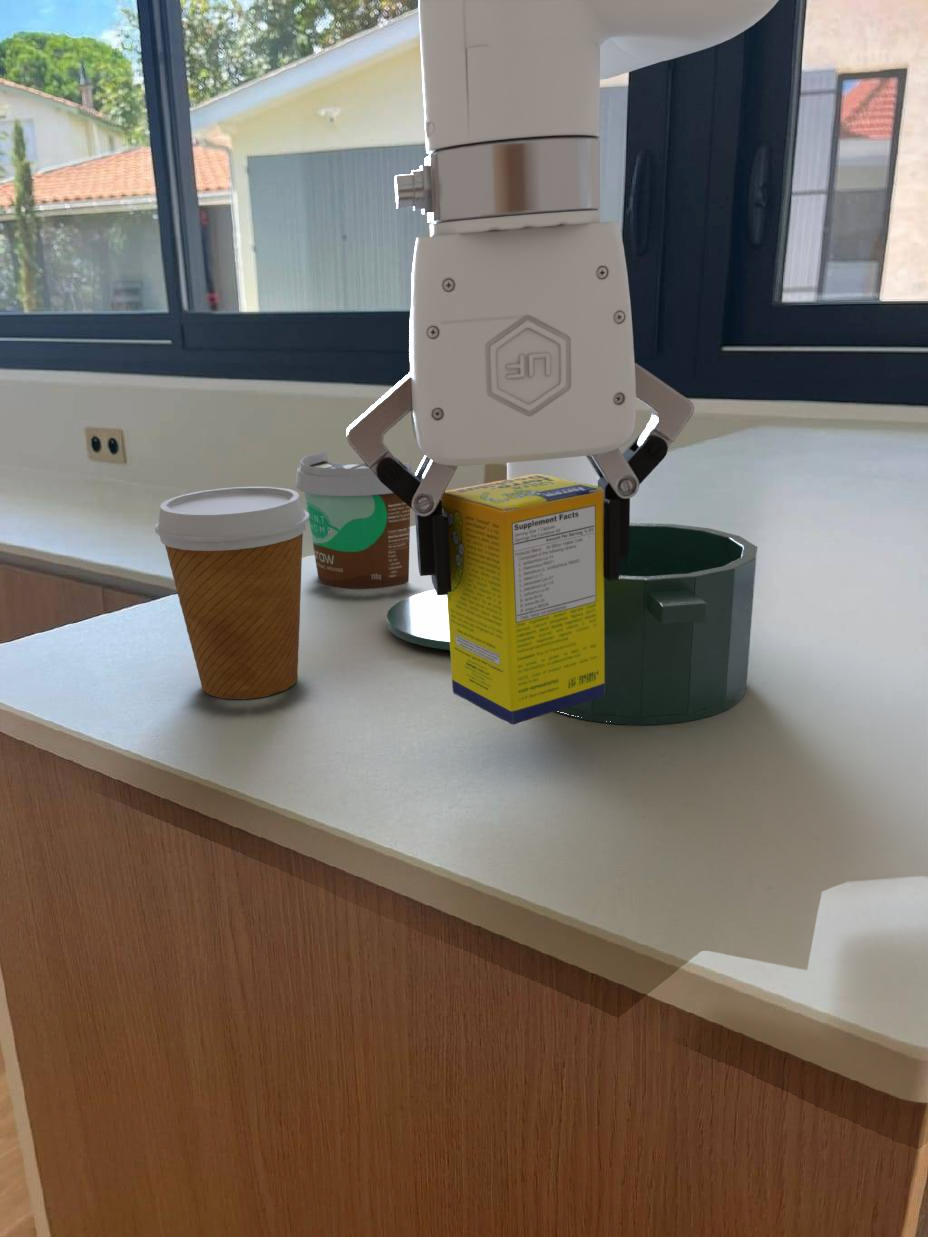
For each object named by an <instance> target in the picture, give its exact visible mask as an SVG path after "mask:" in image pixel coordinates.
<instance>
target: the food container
mask: <svg viewBox="0 0 928 1237" xmlns="http://www.w3.org/2000/svg"><path fill="white" fill-rule="evenodd" d="M328 458H329V457H328V452H327V450H326V451H321V452H317V453H313V454H309V455H307V456H304V457H303V458H300V461H299V465H300V466H298V467H297V470H296V480H295V489H297V490H298V491H300V492H302V493H303V494H304V500H305V505H306V511H307V512H308V513H309V520H308V524H309V530H310V537H311V541H312V542H311V543H312V548H313V554H314V561H315V567H316V573H317V578H318V581H319V582H321V583H323V584H324V585H328V586H331V587H335V588H336V587H337V588H342V589H343V588H345V589H374V588H375V589H376V588H384V587H391V586H397V585H402V584H406V583H409V582H410V580H409V579H410V542H411V541H410V539H411V534H410V533H411V508H410V507H409V506H408V505H407V504H406V503H405V502H404V501H402V500H401V499H400V498H399V497H398V496H397V495H395V494H394V493H393V492H392V491H391V490H390V489H388V488H387V487H386V486H385V485H384V484H383V483H381V481H380V480H379V479H378V477H377V476H376V475H375V474H374V473H373V471H372V470H371V469H370V468H369V467H368V466H367V465H366V463H365V462H362V463H361V462H358V463H349V464H347V463H346V464H345V463H344V464H343V463H336V462H331V461H330V462H329V460H328ZM403 464H404V465H405V466H406V467H407V468H408V469H409V470H411V471H412V463H411V462H407V463H403ZM412 472H413V473H414V471H412Z"/></svg>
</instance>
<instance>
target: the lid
mask: <svg viewBox="0 0 928 1237" xmlns="http://www.w3.org/2000/svg"><path fill="white" fill-rule="evenodd" d="M385 621H386V627H387V629H388V630H389V632H390V633H391V634H392V635H394V636H395V637H397V638H399V639H401V640H403V641H406V642H408V643H411V644H413V645H414V644H415V645H418V646H423V647H427V648H431V649H432V648H433V649H440V650H446V651H450V636H449V621H448V606H447V595H441V596H437V594H436V591H435V589H432V590H428V591H424V592H421V593H416V594H414V595H411V596H408V597H406V598H404V599H402V600H399V601H398V602H396V603H394V604H393V605H392V606H391V607H390V608H389V609H388V610H387V612H386V615H385Z"/></svg>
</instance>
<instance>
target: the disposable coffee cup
mask: <svg viewBox="0 0 928 1237" xmlns="http://www.w3.org/2000/svg"><path fill="white" fill-rule="evenodd" d="M158 516H159V517H158V522H157V523H156V524H155V525H154V531H155V533H156V535H158V536H159V539H160V542H161V543H162V544H163V545H164V547H165V551H166V554H167V558H168V562H169V566H170V570H171V574H172V577H173V580H174V585H175V588H176V593H177V596H178V601H179V604H180V608H181V612H182V615H183V620H184V623H185V626H186V627H185V628H186V632H187V635H188V640H189V642H190V646H191V650H192V654H193V658H194V661H195V665H196V669H197V673H198V677H199V680H200V686H201V689H202V691H203V692H204V693H206V694H208V695H209V696H212V697H215V698H220V699H229V700H248V699H249V700H250V699H256V698H264V697H269V696H271V695H275V694H278V693H281V692H284V691H286V690H289V688H291V687H293V686H294V685H295V684H296V683H297V682H298V676H299V673H298V671H299V647H300V645H299V644H300V626H301V624H300V623H301V621H300V620H301V619H300V618H301V593H302V591H301V590H302V586H301V585H302V563H303V562H302V561H303V541H304V540H303V537H304V532H305V531H306V529H307V523H309V513H308V512H307V509H304V507H303V502H302V499H301V496H300V494H299V492H298V491H296V490H293V489H289V488H286V487H285V488H284V487H275V486H233V487H224V488H215V489H213V488H212V489H207V490H200V491H194V492H190V493H189V492H188V493H184V494H181V495H178V496H174V497H171V498H168V499H166V500H164V501H162V503H161V504H160V506H159V515H158Z"/></svg>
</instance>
